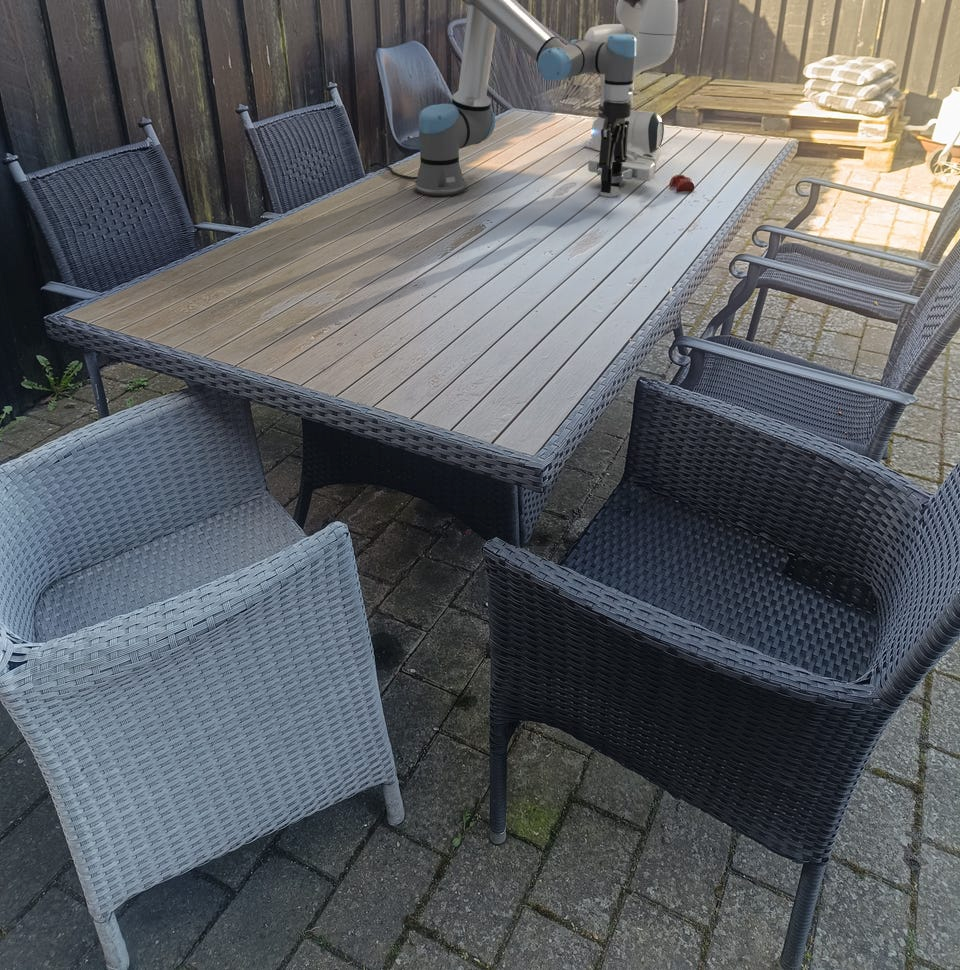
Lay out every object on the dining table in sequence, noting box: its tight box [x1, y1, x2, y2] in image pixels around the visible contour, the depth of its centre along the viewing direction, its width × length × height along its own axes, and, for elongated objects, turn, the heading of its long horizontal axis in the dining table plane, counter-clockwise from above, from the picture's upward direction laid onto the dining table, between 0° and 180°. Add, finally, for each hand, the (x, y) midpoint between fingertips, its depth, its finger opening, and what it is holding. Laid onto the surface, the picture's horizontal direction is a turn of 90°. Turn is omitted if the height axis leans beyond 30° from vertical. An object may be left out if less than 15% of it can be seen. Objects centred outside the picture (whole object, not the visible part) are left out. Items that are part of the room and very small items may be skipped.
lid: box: [600, 171, 624, 183], centre depth 235 cm, size 6×6×2 cm
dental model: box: [668, 174, 695, 193], centre depth 257 cm, size 6×4×8 cm
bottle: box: [599, 138, 620, 198], centre depth 249 cm, size 6×6×19 cm
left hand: (610, 189), depth 237 cm, fingers closed on lid, 6 cm apart
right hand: (609, 174), depth 251 cm, fingers closed on bottle, 5 cm apart
